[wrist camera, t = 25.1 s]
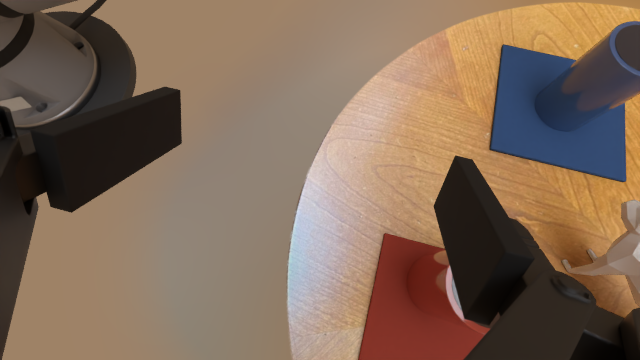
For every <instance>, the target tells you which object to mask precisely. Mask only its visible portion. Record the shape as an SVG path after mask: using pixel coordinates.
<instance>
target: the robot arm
mask: <svg viewBox="0 0 640 360" xmlns="http://www.w3.org/2000/svg"><path fill="white" fill-rule="evenodd" d="M73 1H77V0H0V360H2V356H3V352H4V348H5V343H6V339H7V335H8V331H9V327H10V323H11V319H12V314H13V310H14V306H15V302H16V298H17V294H18V290H19V286H20V282H21V277H22V273H23V269H24V265H25V261H26V257H27V253H28V249H29V244H30V240H31V236H32V232H33V228H34V224H35V219H36V215H37V211H38V203H37V199H36V197H37V196H39V195H40V194H43V193H45V192H47V195H48V199H49V202H50V206H51V207H53V208H57V209H60V210H64V211H68V212H73V211H75V210H76V209H78V208H79V207H81V206H83V205H84V204H86V203H87V202H89V201H91V200H92V199H94V198H95V197H97V196H99V195H100V194H102V193H103V192H105V191H107V190H108V189H110V188H111V187H113V186H115V185H116V184H118V183H119V182H121V181H123V180H124V179H126V178H127V177H129V176H130V175H132V174H134V173H135V172H137V171H138V170H140V169H142V168H143V167H145V166H146V165H148V164H149V163H151V162H153V161H154V160H156V159H158V158H159V157H161V156H162V155H164V154H165V153H167V152H169V151H170V150H172V149H173V148H175V147H177V146H178V145H180V144H181V143H182V142H181V141H182V140H181V102H180V90H177V89H173V88H168V87H163V88H160V89H156V90H153V91H150V92H147V93H144V94H141V95H138V96H135V97H131V98H128V99H125V100H122V101H119V102H116V103H113V104H109V105H106V106H103V107H100V108H97V109H94V110H91V111H88V112H84V113H81V114H78V115H75V114H76V113H77V112H79V111H80V110H81V109H82V108H83V107H84V106H85V105H86V104H87V103H88V102H89V100H90V99H91V98H92V96H93V95H94V93H95V91H96V89H97V87H98V84H99V81H100V77H101V62H100V59H99V56H98V54H97V52H96V50H95V49H94V48H93V47H92V45H91V44H90V43H89V42H88V41H87V40H86V39H85V38H84V37H83V36H81V35H80V34H79V33H77V32H76V31H75V30H76V29H77V28H78V27H79V26H80V25H81V24H82V23H83V22H84V21H85V20H86V19H87V18H88V17H89V16H90V15H91V14H93V13H94V12H95V11H96V10H97V9H99V8H100V7H101V6H102V4H103V3H104V2H105V1H106V0H97V1H96V2H95V3H94V4H93V5H92V6H91V7H89V8H88V9H87V10H86V11H85V12H83V13H82V14H81V15H80V16H79V17H78V18H77V19H76V20H75V21H74V22H73V23H72V24H71V25H69V26H66V25H64V24H62V23H61V22H59V21H57V20H55V19H53V18H51V17H50V16H48V15H46V14H44V13H42V12H40V11H41V10H44V9H48V8H52V7H55V6H59V5H63V4H66V3H70V2H73ZM73 115H75V116H73ZM16 129H18V130H30V132H29V133H26V134H23V135H20V136H18V134H17V131H16ZM434 209H435V213H436V217H437V221H438V224H439V228H440V232H441V235H442V239H443V243H444V246H445V250H446V254H447V257H448V261H449V265H450V268H451V272H452V276H453V279H454V283H455V287H456V291H457V294H458V298H459V302H460V305H461V309H462V313H463V316H464V319H466V320H470V321H474V322H477V323H481V324H485V325H488V326H489V325H490V324H491V322H492V321H493V320H494V318H495V317H496V315H497V314H498V312H499V314H500V318H499V320H498V321H497V322H496V323H495V324H494V325H493V326H492V327H491V329H490V330H489V331H488V332H487V333H486V334H485V335H484V337H483V338H482V339H481V340H480V341H479V342H478V343H477V345H476V346H475V347H474V348H473V349H472V350H471V351H470V353H469V354H468V355H467V356H466V357H465V358H464V359H463V360H640V308H637V309H633V310H632V311H631V312H630V313H629V314H628V315H627V316H626V317H625V318H623V317H620V316H618V315H616V314H614V313H612V312H609V311H607V310H605V309H603V308H600V307H598V306H596V299H595V298H594V296H593V294H592V293H591V292H590V291H589V290H588V289H587V288H586V287H585V286H584V285H583V284H581V283H580V282H578V281H577V280H575V279H574V278H572V277H570V276H568V275H566V274H564V273H562V272H559V271H556V270H555V269H554V268H553V266H552V265H551V263H550V262H549V260H548V259H547V257H546V256H545V254H544V253H543V251H542V250H541V249H539V246H538V244H537V243H536V241H534V238H533V237H532V235H531V234H530V232H529V231H528V230H527V229H526V228H525V227H524V226H523V225H522V224H520V223H519V222H518V221H517V220H515V219H511V218H509V217H508V215H507V214H506V212H505V210H504V209H503V207H502V206H501V204H500V203H499V201H498V199H497V198H496V196H495V195H494V193H493V192H492V190H491V188H490V187H489V185H488V184H487V182H486V180H485V179H484V177H483V176H482V174H481V173H480V171H479V169H478V168H477V166H476V165H475V163H474V161H473V160H472V159H468V158H463V157H459V156H455V157H454V160H453V162H452V164H451V167H450V169H449V171H448V174H447V176H446V178H445V181H444V183H443V185H442V188H441V190H440V192H439V195H438V197H437V199H436V202H435V204H434Z"/></svg>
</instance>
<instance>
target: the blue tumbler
mask: <svg viewBox="0 0 640 360" xmlns="http://www.w3.org/2000/svg"><path fill="white" fill-rule="evenodd" d="M639 94H640V22H638V21H632V22H626V23H623V24H620V25H618V26H617V27H616V28H614V29H613V30H612V31H611V32H610V33H608V34H607V35H606V36H605V37H604V38H603V39H601V40H600V41H599V42H598V43H597V44H595V45H594V46H593V47H592V48H591V49H590V50H588V51H587V52H586V53H585V54H584V55H582V56H581V57H580V58H579V59H578V60H576V61H575V62H574V63H573V64H572V65H571V66H569V67H568V68H567V69H566V70H565V71H563V72H562V73H561V74H560V75H559V76H558V77H556V78H555V79H554V80H553V81H552V82H550V83H549V84H548V85H547V86H546V87H544V88H543V89H542V90H541V91H540V92H539V93H538V94H537V96H536V99H535V109H536V112H537V114H538V116H539V117H540V119H541V120H542V121H543V122H544V123H545V124H546V125H548V126H549V127H551V128H553V129H556V130H559V131H564V132H569V131H575V130H577V129H579V128H581V127H583V126H585V125H586V124H588V123H590V122H591V121H593V120H595V119H597V118H598V117H600V116H602V115H604V114H605V113H607V112H609V111H611V110H612V109H614V108H616V107H618V106H619V105H621V104H623V103H625V102H626V101H628V100H630V99H632V98H633V97H635V96H637V95H639Z"/></svg>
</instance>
